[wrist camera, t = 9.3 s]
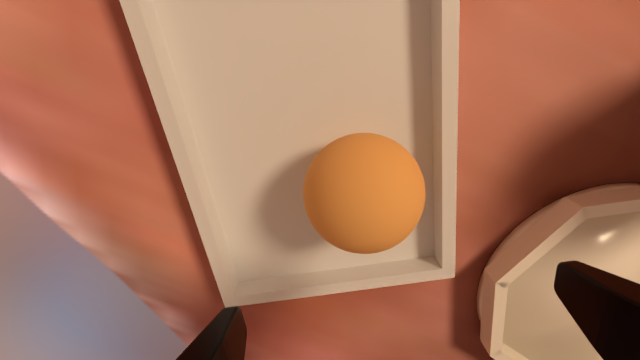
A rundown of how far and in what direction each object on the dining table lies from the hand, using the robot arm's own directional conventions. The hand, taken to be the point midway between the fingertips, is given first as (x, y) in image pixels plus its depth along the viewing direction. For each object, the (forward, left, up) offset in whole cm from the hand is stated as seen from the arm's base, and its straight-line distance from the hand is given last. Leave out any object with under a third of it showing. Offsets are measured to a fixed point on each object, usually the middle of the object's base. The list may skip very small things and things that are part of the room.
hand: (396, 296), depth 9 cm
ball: (0, 0, -7) cm, 7 cm away
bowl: (-12, -16, -11) cm, 23 cm away
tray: (+2, +2, -11) cm, 11 cm away
